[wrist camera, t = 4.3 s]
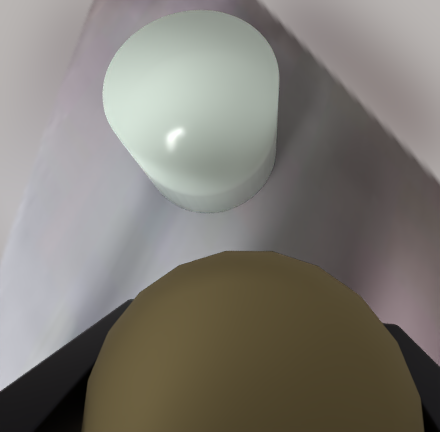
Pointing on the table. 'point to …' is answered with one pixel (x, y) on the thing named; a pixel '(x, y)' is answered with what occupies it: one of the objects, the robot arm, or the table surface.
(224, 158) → the pale mint rounded cylinder
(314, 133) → the table surface
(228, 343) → the pepper shaker
